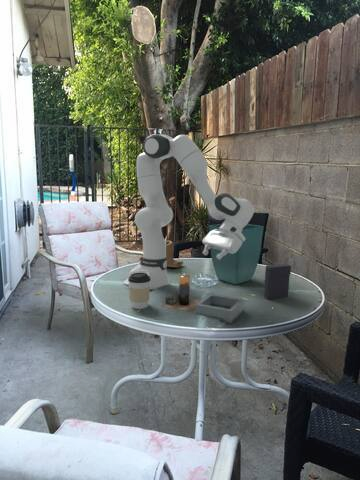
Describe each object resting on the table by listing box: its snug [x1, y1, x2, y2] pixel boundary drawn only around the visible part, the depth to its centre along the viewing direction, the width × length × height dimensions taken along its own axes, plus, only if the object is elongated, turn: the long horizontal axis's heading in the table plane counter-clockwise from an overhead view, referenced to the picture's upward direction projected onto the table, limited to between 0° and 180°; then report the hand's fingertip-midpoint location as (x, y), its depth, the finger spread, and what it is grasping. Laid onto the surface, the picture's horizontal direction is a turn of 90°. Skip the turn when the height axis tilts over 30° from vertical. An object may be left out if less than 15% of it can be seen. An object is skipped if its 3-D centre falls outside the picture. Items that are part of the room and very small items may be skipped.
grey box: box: [263, 263, 292, 301], centre depth 184 cm, size 11×4×15 cm, turn 111°
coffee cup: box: [127, 273, 151, 310], centre depth 167 cm, size 9×9×15 cm
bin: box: [194, 293, 245, 324], centre depth 164 cm, size 15×15×5 cm
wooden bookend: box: [166, 240, 184, 268], centre depth 234 cm, size 15×12×15 cm
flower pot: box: [208, 223, 264, 285], centre depth 209 cm, size 20×20×28 cm
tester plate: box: [161, 291, 202, 313], centre depth 171 cm, size 14×14×4 cm
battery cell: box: [178, 273, 191, 305], centre depth 170 cm, size 4×4×13 cm
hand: (210, 256), depth 175 cm, fingers open, 8 cm apart
